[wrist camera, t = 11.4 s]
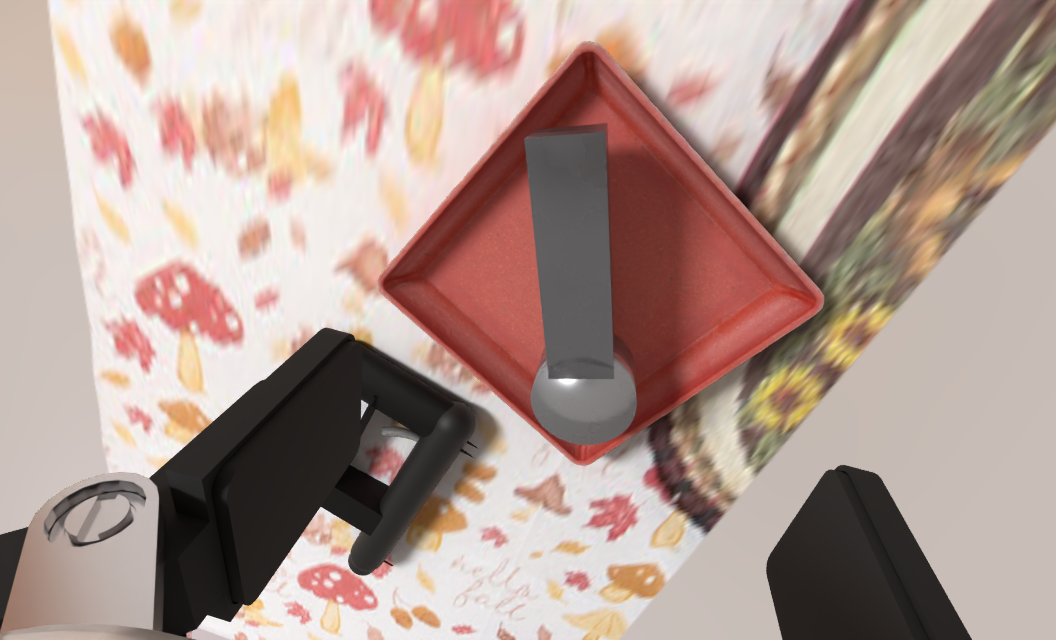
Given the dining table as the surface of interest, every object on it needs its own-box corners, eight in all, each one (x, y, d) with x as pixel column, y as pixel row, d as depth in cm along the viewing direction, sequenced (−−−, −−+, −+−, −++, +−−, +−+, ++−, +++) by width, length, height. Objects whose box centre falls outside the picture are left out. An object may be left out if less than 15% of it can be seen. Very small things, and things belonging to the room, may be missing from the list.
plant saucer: (390, 268, 33) (368, 287, 30) (592, 34, 25) (588, 30, 22) (584, 439, 37) (581, 471, 34) (812, 279, 29) (834, 304, 26)
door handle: (213, 492, 42) (380, 591, 43) (279, 312, 33) (489, 441, 34) (242, 465, 45) (397, 558, 46) (309, 293, 36) (502, 413, 37)
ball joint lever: (514, 131, 25) (499, 140, 22) (631, 120, 24) (632, 128, 21) (544, 406, 32) (535, 443, 29) (635, 407, 31) (637, 446, 28)
